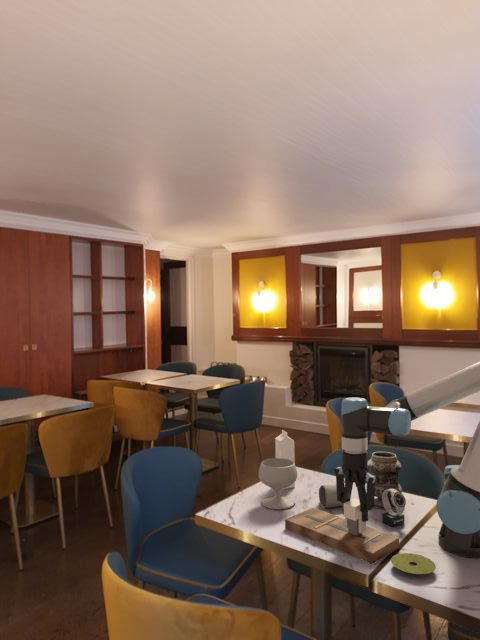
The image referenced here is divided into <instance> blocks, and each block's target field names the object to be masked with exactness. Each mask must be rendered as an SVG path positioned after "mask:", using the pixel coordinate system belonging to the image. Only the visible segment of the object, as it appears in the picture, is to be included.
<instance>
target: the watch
mask: <svg viewBox="0 0 480 640" xmlns="http://www.w3.org/2000/svg"><path fill="white" fill-rule="evenodd" d="M389 491H390V494H391V501H392V503H393V505H394V506H395V507H396V508H395V509H396V510H395V509H391V506H390V503H389V499H388V497H387V494H388V492H389ZM382 502H383V505H384V508H385V509H384V510H385V511H386V512H383V513H381V524H383V525H385V526H386V527H389V528H391V529H393V528H397V527H400V526H404V525H405V514H403V512H404V511H405V508H406V505H407V503H406V502H407V501H406V497H405V496H404V494H403V492H402V493H400V492H399V491H397V490H395V489H388V490H385V491H384V492H383V494H382Z"/></svg>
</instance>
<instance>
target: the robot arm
mask: <svg viewBox="0 0 480 640" xmlns="http://www.w3.org/2000/svg"><path fill="white" fill-rule="evenodd" d="M479 392H480V361H477V362H475V363H473V364H471V365H469V366H467V367H465V368H462V369H461V370H458V371H456V372H454V373H451V374H449V375H447V376H445V377H443V378H440V379H438V380H437V381H434V382H431V383H429V384H427V385H425V386H423V387H421V388H419V389H417V390H415V391H412V392H411V393H408V394H406V395H404V396H401V397H399V398H396V399H393V400H391V401H390V402H388V403H387V405H385V406H374V405H372V406H371V405H369V404H368V401H367V399H366V398H363V397H353V396H352V397H346V398H343V400H342V401H341V411H340V412H341V413H340V416H341V417H340V418H341V449H342V451H341V462H342V465H341V466H338V467H336V468H334V469H333V470H334V471H333V472H334V473H335V474H334V475H335V483H336V484H335V485H336V487H337V500H338V501H340V502H341V503H342V504H343V506H342V514H343V516H344V503H346V502H348V501H350V500H352V499H351V498H352V491H353V486H354V484H355V487H356V489H357V495H358V499H359V501H360V507H361V509H360V510H359V533H363V532H364V531H366V526H367V521H369V511H371V510H373V509H375V507H374V501H375V499H376V497H375V482H376V479H377V477H376V476H375V475H374V476H372V475H371V473H369V470H368V469H369V468H368V466H367V464H368V461H369V456H368V455H369V453H368V445H369V444H368V443H369V442H368V439H369V438H368V437H369V436H368V433H376V434H383V435H392V436H407V435H409V434H410V432H411V427H412V421H415V420H417V419H419V418H421V417H423V416H425V415H428V414H430V413H433V412H435V411H438V410H439V409H442V408H444V407H447V406H449V405H452V404H453V403H456V402H458V401H461V400H463V399H466V398H467V397H469V396H472V395H474V394H477V393H479ZM443 478H444V481H443V487H442V489H441V492H440V495H438V498H437V501H436V512H437V515H438V517H439V519H440V521H441V522H442V523H441V525H440V528H439V532H438V544H439V545H440V547H442V548H443V549H444V550H446V551H448V552H450V553H452V554H454V555H457V556H462V557H466V558H473V559H474V558H477V559H478V558H479V559H480V420H479V421H478V424H477V426H476V429H475V430H474V432H473V435H472V437H471V440H470V441H469V444H468V446H467V449H466V451H465V454H464V456H463V458H462V460H461V463H460V464H452V465H450V464H449V465H446V466H445V467H444V472H443ZM344 519H345V528H348V518H346V517H344Z"/></svg>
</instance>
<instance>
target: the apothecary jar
mask: <svg viewBox="0 0 480 640" xmlns="http://www.w3.org/2000/svg"><path fill="white" fill-rule="evenodd" d="M367 469H369V470H370V474H371V475H372V476H374V475H375V476H376V477H377V479H376V482H375V501H374V508H377V509H381V510H385V508H384V505H383V502H382V494H383V492H384V491H385V490H388V489H395V490H397V491H399V492H400V493H402V494H403V487H402V486H401V484H400V483H399V472H400V471H401V469H402V463H401V462H400V461H399V460H398V458H397V455H396V453H393V452H388V451H375V452H372V453H371V458H370V459H368V464H367ZM387 497H388V499H389V503H390V506H391V509H392V510H395V509H396V507H395V506H394V505H393V503H392V501H391V494H390V491H389V492H388V494H387Z"/></svg>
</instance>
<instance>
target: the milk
mask: <svg viewBox="0 0 480 640" xmlns="http://www.w3.org/2000/svg"><path fill="white" fill-rule="evenodd" d="M274 440H275V441H274V443H275V444H274V445H275V458H283V459H288V460H291V461H293V462H294V464H295V440H294V439H293V438H291V437H289V436H288V432H287V431H285V430H283V429H281V433H280V434H279V435H278V436H276V437H275V438H274ZM295 483H296V481H295V482H294V483H293V484H292V485H290V486H288V487H286V488H284V489H283V490H286V489H295V487H296V484H295Z"/></svg>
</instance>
